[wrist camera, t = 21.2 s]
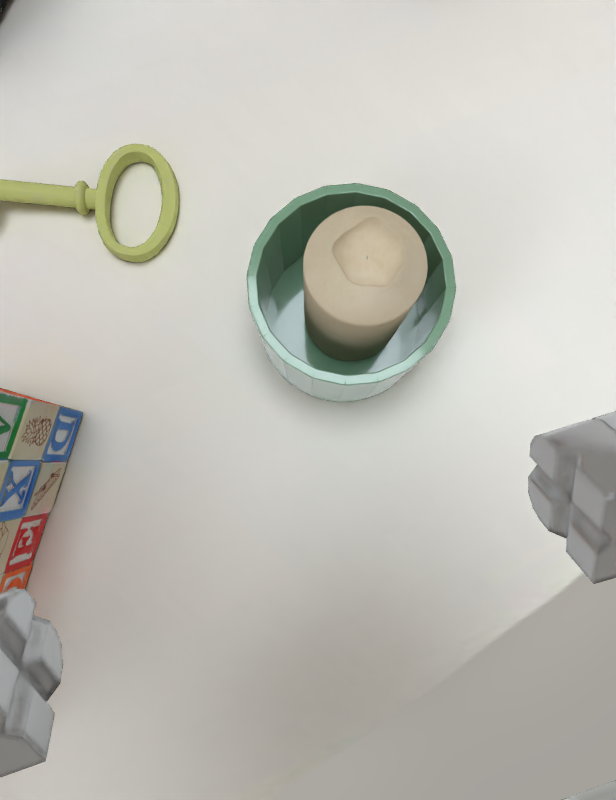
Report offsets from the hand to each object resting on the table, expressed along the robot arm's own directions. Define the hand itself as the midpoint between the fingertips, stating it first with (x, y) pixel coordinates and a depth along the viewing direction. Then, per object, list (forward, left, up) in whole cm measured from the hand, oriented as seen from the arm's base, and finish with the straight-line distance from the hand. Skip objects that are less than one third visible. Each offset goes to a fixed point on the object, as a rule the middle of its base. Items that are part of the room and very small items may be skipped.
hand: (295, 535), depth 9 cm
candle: (+4, +10, -23) cm, 25 cm away
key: (-12, +18, -24) cm, 32 cm away
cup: (+3, +10, -23) cm, 25 cm away
